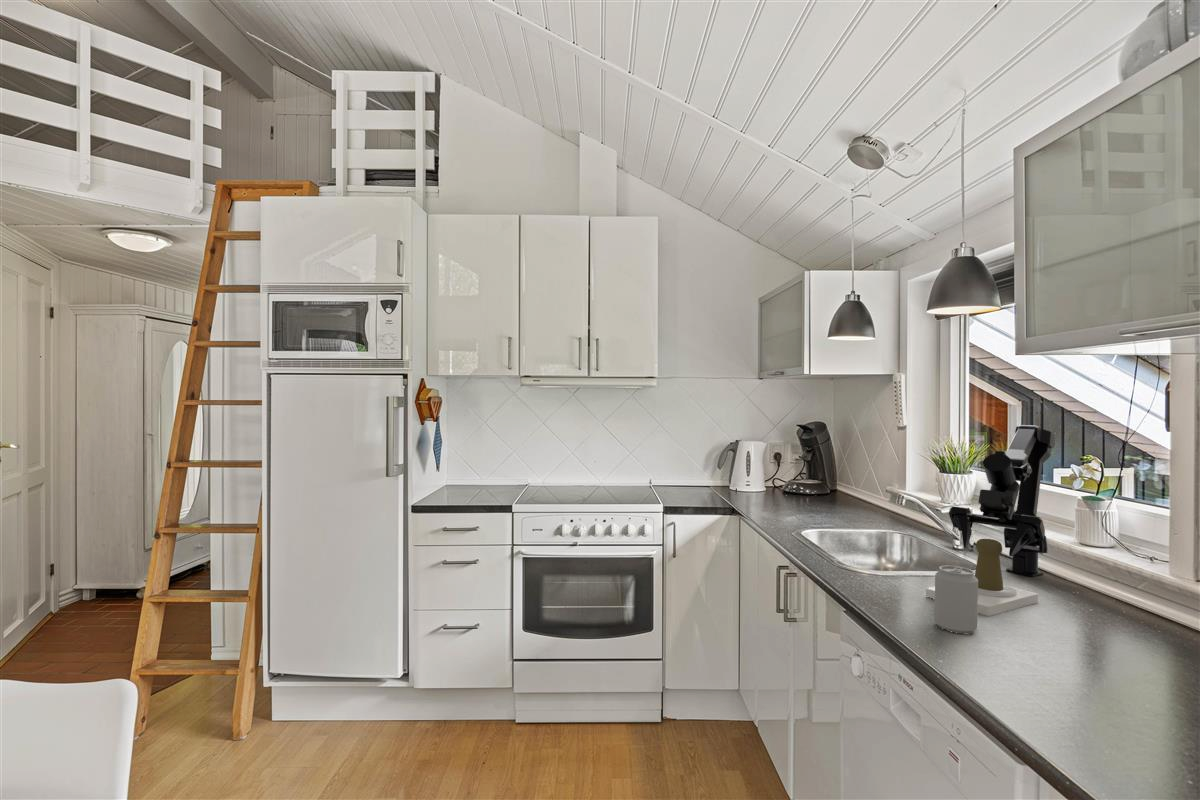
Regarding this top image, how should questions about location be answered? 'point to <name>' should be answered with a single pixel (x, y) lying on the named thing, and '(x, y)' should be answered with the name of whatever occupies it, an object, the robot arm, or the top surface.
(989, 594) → the kitchen scale
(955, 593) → the can
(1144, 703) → the top surface
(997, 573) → the cork
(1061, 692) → the top surface
